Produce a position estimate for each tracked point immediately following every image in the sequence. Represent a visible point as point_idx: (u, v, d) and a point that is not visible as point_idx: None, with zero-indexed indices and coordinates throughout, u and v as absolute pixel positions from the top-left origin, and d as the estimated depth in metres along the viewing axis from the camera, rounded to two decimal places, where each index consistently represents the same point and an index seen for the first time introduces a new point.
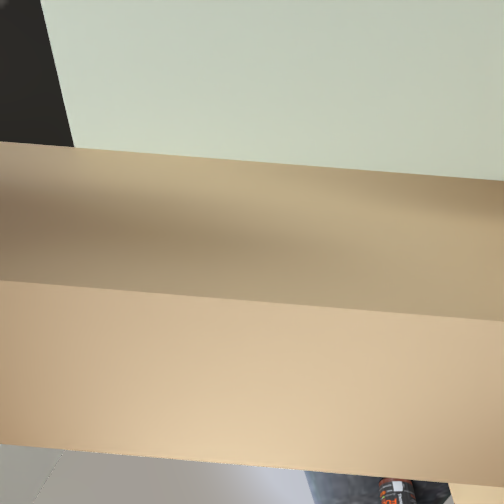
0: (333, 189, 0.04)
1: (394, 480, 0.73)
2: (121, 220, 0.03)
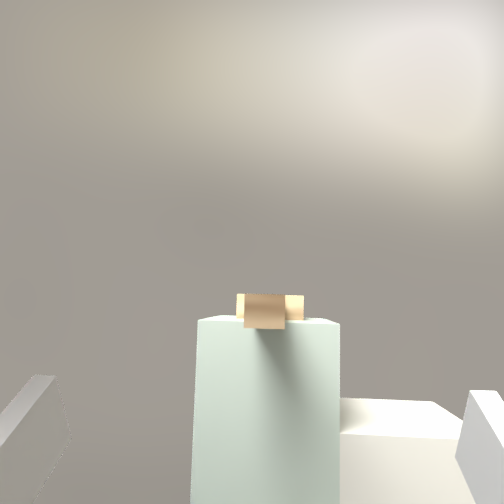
0: None
1: None
2: None
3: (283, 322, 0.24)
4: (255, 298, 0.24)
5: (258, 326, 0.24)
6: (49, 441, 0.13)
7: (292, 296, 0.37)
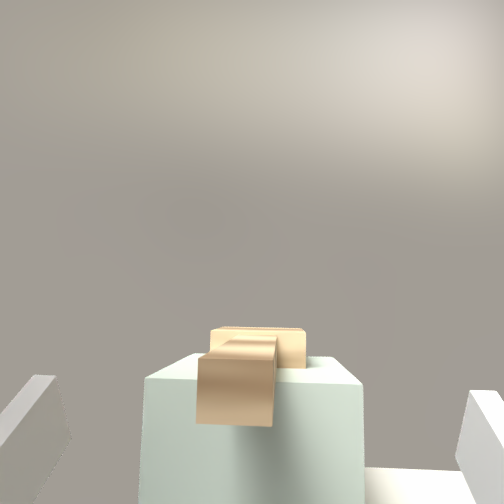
0: None
1: None
2: None
3: (270, 413, 0.13)
4: (217, 367, 0.13)
5: (223, 420, 0.13)
6: (49, 441, 0.13)
7: (289, 333, 0.26)
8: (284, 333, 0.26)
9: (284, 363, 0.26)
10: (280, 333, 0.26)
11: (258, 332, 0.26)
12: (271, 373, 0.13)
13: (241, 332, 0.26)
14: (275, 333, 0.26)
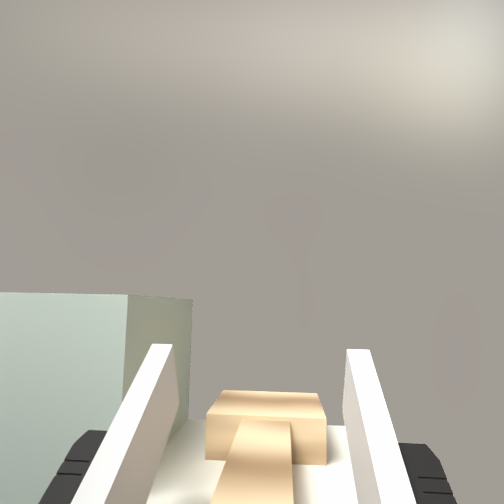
0: None
1: None
2: None
3: None
4: None
5: None
6: (169, 402, 0.14)
7: (306, 419, 0.20)
8: (299, 419, 0.20)
9: (299, 458, 0.20)
10: (294, 419, 0.20)
11: (266, 417, 0.21)
12: None
13: (244, 417, 0.21)
14: (287, 419, 0.21)
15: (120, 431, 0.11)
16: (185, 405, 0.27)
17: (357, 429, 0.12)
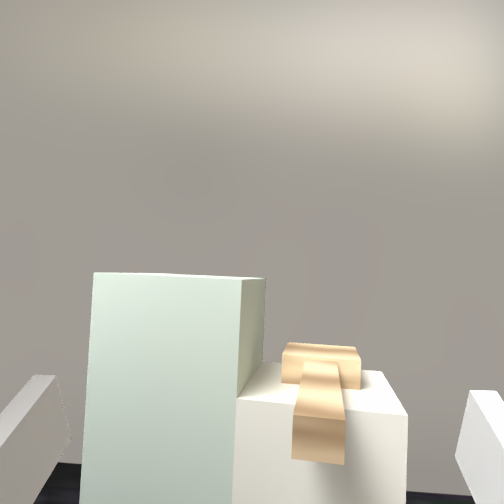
0: None
1: None
2: None
3: (342, 456, 0.19)
4: (306, 421, 0.19)
5: (310, 458, 0.19)
6: (49, 441, 0.13)
7: (347, 361, 0.31)
8: (343, 360, 0.31)
9: (342, 384, 0.31)
10: (339, 360, 0.32)
11: (321, 358, 0.32)
12: (344, 429, 0.19)
13: (307, 357, 0.32)
14: (335, 359, 0.32)
15: None
16: (261, 351, 0.39)
17: None
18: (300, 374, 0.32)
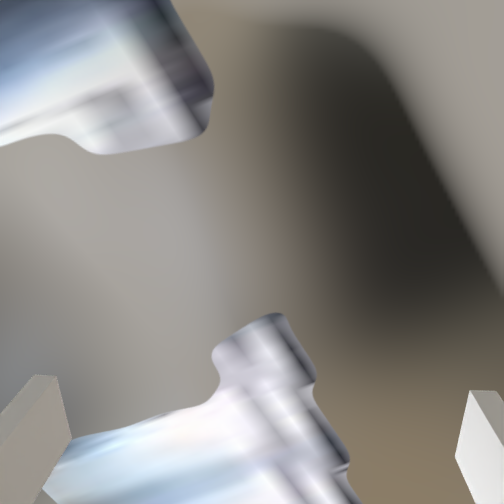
0: None
1: None
2: None
3: None
4: None
5: None
6: (49, 441, 0.13)
7: None
8: None
9: None
10: None
11: None
12: None
13: None
14: None
15: None
16: None
17: None
18: None
